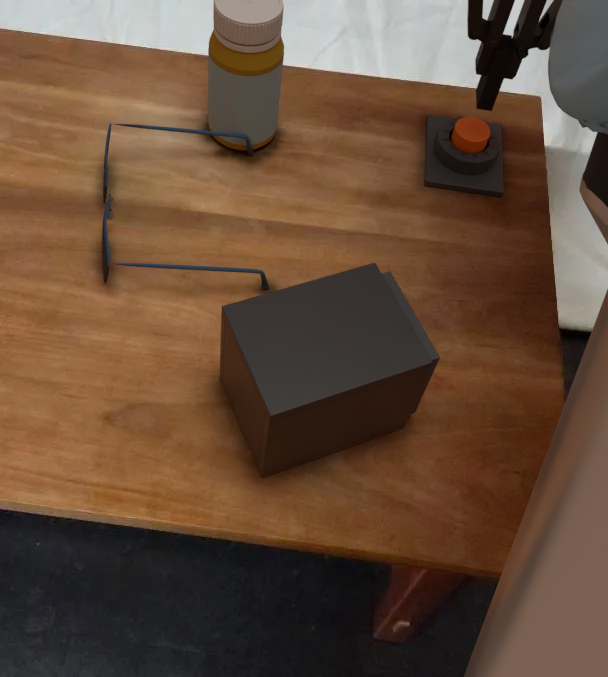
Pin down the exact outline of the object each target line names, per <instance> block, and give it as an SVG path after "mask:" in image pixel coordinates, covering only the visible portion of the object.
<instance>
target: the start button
mask: <svg viewBox="0 0 608 677" xmlns="http://www.w3.org/2000/svg"><path fill="white" fill-rule="evenodd" d="M485 122H486V121H484V120H482V119H480V118H478V117H475V116H464V118H461V119H459V120H458V121H457V122H456V124H455V127H454V130H453V133H452V136H451V141H452V144H453V146H454V147H455V148H457V149H459V150H460V151H462V152H464V153H470V154H477V153H480V152H482V151H483V150H484V149H485V146H486V144H487V141H488V139H489V136H490V128H489V126H488V125H487V124H486V123H485Z"/></svg>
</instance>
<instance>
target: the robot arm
mask: <svg viewBox="0 0 608 677" xmlns="http://www.w3.org/2000/svg"><path fill="white" fill-rule="evenodd" d="M547 1H548V0H524V1H523V3H522V6H521V9H520V10H519V13H518V16H517V20H516V22H515V25H514V28H513V32H512V33H513V35H510V34H505V33H504V32H505V30H506V27H507V24H508V21H509V19H510V15H511V12H512V10H513V7H514V4H515V2H516V0H493V2H492V4H491V7H490V11H489V13H488V17H487V19H485V18H483V17H484V16H483V13H484V11H483V10H484V0H467V14H466V16H467V20H466V21H467V37H468V39H469V40H471V41H476V40H478V41H479V42H480V45H479V47H478V50H477V53H476V56H475V59H474V62H475V63H474V66H475V67H474V68H475V75H478V76H480V77H479V81H478V84H477V86H476V89H475V104H476V106H475V108H476V110H481V111H488V112H493V109H494V106H495V103H496V101H497V98H498V95H499V93H500V90H501V87H502V84H503V82H504V80H506V79H507V80H514V79H515V77H516V76H517V74H518V72H519V69H520V66H521V64H522V61H523V59H526V58H527V57H528V56H529V50H531V49H536V48H537V50H539V51H546V50H548V49H549V51H548V60H547V78H548V85H549V90H550V93H551V95H552V98H553V100H554V102H555V104H556V106H557V107H558V108H559V109H560V110H561V111H562V112H563V113H564V114H566V115H567V116H568V117H571V118H573V119H575V120H576V121H577V122H578V123H579V125H580V126H581V128H588V129H589V130H590V131H591V132H592V133H596V135H595V138H594V141H593V144H592V148H591V150H590V153H589V156H588V160H587V162H586V166H585V169H584V171H583V173H582V175H581V179H580V184H579V193H580V196H581V198H582V202H584V205H585V206H586V208H587V210H588V212H589V213H590V215H591V218H592V219H593V220H594V223H595V225H596V226H597V228H598V229H599V231H600V233H601V235H602V237H603V240H604V241H605V242H606V244H607V245H608V0H553V1H552V2H551V3H550V5H549V6H548V8H547V9H546V11H545V12H544V10H545V6H546V4H547ZM543 12H544V14H543ZM590 332H591V333H590V336H589V338H588V340H587V344H586V346H585V349H584V351H583V353H582V354H583V355H582V356H581V360H580V362H579V365H578V367H577V370H576V373H575V376H574V378H573V381H572V384H571V386H570V389H569V392H568V395H567V397H566V399H565V403H564V405H563V408H562V410H561V413H560V416H559V419H558V421H557V424H556V427H555V430H554V433H553V435H552V437H551V440H550V443H549V445H548V448H547V451H546V453H545V457H544V458H543V462H542V464H541V467H540V470H539V472H538V474H537V478H536V481H535V484H534V486H533V489H532V492H531V494H530V497H529V499H528V502H527V504H526V508H525V511H524V513H523V516H522V519H521V520H520V523H519V527H518V529H517V532H516V535H515V537H514V540H513V543H512V545H511V548H510V551H509V553H508V557H507V559H506V562H505V564H504V567H503V570H502V572H501V575H500V578H499V580H498V583H497V584H496V585H497V586H496V588H495V591H494V594H493V597H492V599H491V602H490V605H489V607H488V609H487V613H486V615H485V617H484V621H483V623H482V626H481V629H480V632H479V634H478V636H477V640H476V642H475V645H474V648H473V651H472V653H471V655H470V659H469V660H468V664H467V667H466V670H465V672H464V674H463V677H608V288H607V290H606V292H605V294H604V297H603V299H602V303H601V306H600V309H599V311H598V313H597V315H596V318H595V321H594V325H593V327H592V330H591V331H590Z"/></svg>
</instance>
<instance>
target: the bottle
mask: <svg viewBox="0 0 608 677" xmlns="http://www.w3.org/2000/svg"><path fill="white" fill-rule="evenodd" d="M284 7H285V5H284V0H213V14H212V15H213V18H212V19H213V29H212V32H211V35H210V37H209V39H208V51H207V52H208V55H207V57H208V58H207V59H208V62H207V68H208V70H207V71H208V72H207V84H208V85H207V122H208V124H207V125H208V129H209V131H214V132H225V133H234V134H242V135H246V136H248V137H249V139H250V142H251V146H252V149H253V151H254V150H257V149H259V148H261V147H263V146H266V145H267V144H268V143H270V142H271V141H272V140H273V139H274V136H275V135H276V133H277V127H278V119H279V110H280V109H279V108H280V97H281V87H282V79H283V66H284V56H285V44H284V41H283V38H282V27H283V20H284ZM212 137H213V138H214V139H215V140H216V141H217V142H218V143H221V144H222V145H223V146H225V147H226V148H229V149H232V150H235V151H241V152H242V151H245V152H247V145H246V139H244V138H236V137H226V136H216V135H212Z"/></svg>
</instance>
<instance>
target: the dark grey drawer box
mask: <svg viewBox="0 0 608 677" xmlns="http://www.w3.org/2000/svg"><path fill="white" fill-rule="evenodd" d="M382 274H383V273H382V272H381V270H380V268H379V265H378V264H377V263H376V262H371V263H368V264H364V265H362V266H357V267H354V268H351V269H347V270H344V271H340V272H337V273H333V274H330V275H327V276H323V277H320V278H316V279H312V280H309V281H304V282H302V283H299V284H294V285H291V286H288V287H285V288H280V289H277V290H274V291H271V292H267V293H262V294H260V295H256V296H253V297H249V298H245V299H242V300H238V301H235V302H231V303H228V304H225V305H224V304H223V305H222V306H221V313H220V315H221V316H220V322H221V323H220V347H219V348H220V352H219V381H220V383H221V385H222V388H223V391H224V392H225V395H226V397H227V399H228V402H229V405H230V407H231V409H232V412H233V414H234V416H235V419H236V421H237V423H238V426H239V428H240V431H241V433H242V435H243V437H244V440H245V443H246V445H247V448H248V449H249V452H250V455H251V456H252V459H253V461H254V464H255V466H256V469H257V471H258V473H259V476H260V478H261V479H264V478H266V477H267V478H268V477H269V476H272V475H275V474H278V473H281V472H283V471H287V470H289V469H292V468H295V467H297V466H300V465H303V464H307V463H309V462H311V461H315V460H316V459H320V458H322V457H327V456H328V455H329V456H330V455H331V454H334V453H337V452H341V451H342V450H346V449H348V448H352V447H355V446H356V445H360V444H363V443H365V442H368V441H370V440H373V439H377V438H379V437H382V436H385V435H387V434H391V433H393V432H396V431H400V430H402V429H404V427H405V425H406V422H407V421H408V419H409V417H410V415H411V414H410V412H411V410H412V407H413V405H414V403H415V401H416V398H417V396H418V394H419V392H420V389H421V387H422V385H423V383H424V380H425V378H426V376H427V374H428V372H429V369H430V367H431V365H432V361H431V359H430V357H429V355H428V354H427V352H426V350H425V348H424V347H423V345H422V343H421V341H420V340H419V338H418V336H417V334H416V333H415V331H414V329H413V327H412V326H411V324H410V322H409V320H408V319H407V317H406V315H405V314H404V312H403V310H402V308H401V307H400V305H399V303H398V301H397V300H396V298H395V296H394V294H393V293H392V291H391V289H390V287H389V286H388V284H387V282H386V280H385V279H384V277H383V275H382ZM409 414H410V415H409Z"/></svg>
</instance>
